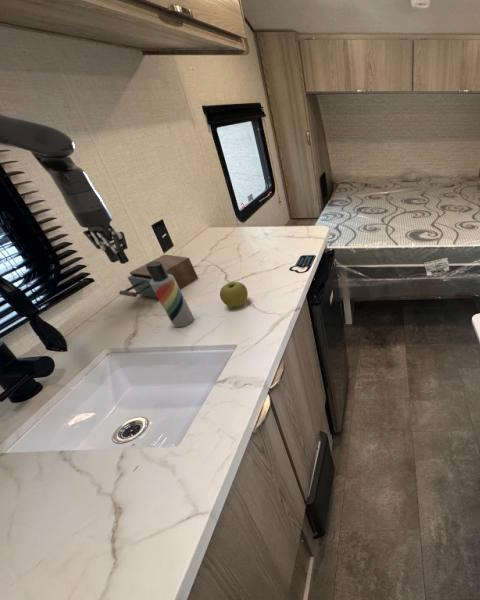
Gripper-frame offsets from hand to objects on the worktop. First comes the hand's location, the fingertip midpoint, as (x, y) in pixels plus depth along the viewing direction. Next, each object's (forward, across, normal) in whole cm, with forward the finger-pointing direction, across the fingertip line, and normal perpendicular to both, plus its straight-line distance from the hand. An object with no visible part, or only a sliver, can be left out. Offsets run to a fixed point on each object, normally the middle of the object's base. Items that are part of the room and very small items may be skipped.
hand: (120, 261), depth 100 cm
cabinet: (+15, 0, +11) cm, 19 cm away
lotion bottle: (+15, +23, -5) cm, 28 cm away
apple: (+15, +33, +7) cm, 37 cm away
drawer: (+14, 0, +5) cm, 15 cm away
